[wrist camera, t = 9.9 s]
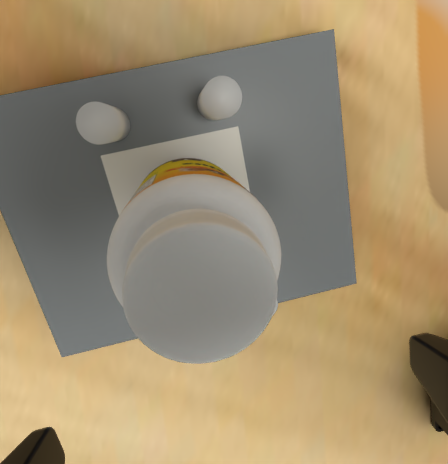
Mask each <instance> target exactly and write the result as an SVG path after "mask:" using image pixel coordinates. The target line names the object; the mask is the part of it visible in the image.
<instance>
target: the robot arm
mask: <svg viewBox="0 0 448 464" xmlns="http://www.w3.org/2000/svg"><path fill="white" fill-rule="evenodd" d="M409 347H410V365H411V368H412V370H413V372H414V374H415V376H416V377H417V378H418V380H419V381H420V383H421V384H422V386H423V387H424V389H425V390H426V392H427V393H428V395H429V396H430V398H431V416H432V426H433V427H434V428H435V429H436V431H438V432H441V431H445V433H446V434H447V435H448V340H447V339H444V338H441V337H438V336H435V335H432V334H429V333H422V334H418V335H414V336H412V337H411V338H410V340H409ZM0 464H65V454H64V450H63V448H62V446H61V443H60V441H59V439H58V437H57V434H56V432H55V430H54V429H53V428H52V427H46V428H42V429H38V430H35V431H33V432H32V433H31V434H29V435H28V436H27V437H26V438H25V439H24V440H23V441H22V442H21V443H20V444H19V445H18V446H17V447H16V448H15V449H14V450H13V451H12V452H11V453H10V454H9V455H8V456H7V457H6V458H5V459H4V460H3V461H2V462H1V463H0Z"/></svg>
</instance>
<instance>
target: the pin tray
mask: <svg viewBox="0 0 448 464" xmlns="http://www.w3.org/2000/svg"><path fill="white" fill-rule="evenodd" d="M180 158H196V159H201V160H205V161H208V162H210V163H213V164H215V165H216V166H218V167H220V168H221V169H223V170H224V171H225V172H226V173H228V174H229V175H230V176H231V177H232V178H234V179H235V180H236V181H237V182H239V183H240V184H241V185H242V186H243V187H244V188H245V189H247V190H248V191H249V192H250V193H251V194H253V195H254V196H255V197H256V198H257V200H258V201H259V202H260V203H261V204H262V205H263V207H264V208H265V209H266V211H267V212H268V214H269V215H270V217H271V219H272V221H273V223H274V224H275V227H276V230H277V232H278V236H279V240H280V246H281V266H280V272H279V276H278V280H277V285H278V292H277V300H276V306H275V309H274V312H273V315H274V313H275V312H276V310H277V307H278V303H280V302H284V301H288V300H292V299H296V298H300V297H304V296H308V295H312V294H316V293H320V292H324V291H328V290H332V289H336V288H340V287H344V286H348V285H352V284H356V272H355V261H354V249H353V238H352V227H351V216H350V205H349V193H348V182H347V171H346V160H345V149H344V137H343V126H342V115H341V104H340V93H339V81H338V70H337V59H336V48H335V37H334V29H333V30H328V31H323V32H318V33H313V34H308V35H303V36H297V37H292V38H287V39H282V40H277V41H272V42H267V43H262V44H257V45H252V46H247V47H242V48H237V49H232V50H227V51H222V52H217V53H212V54H207V55H202V56H197V57H192V58H187V59H182V60H177V61H172V62H167V63H162V64H156V65H151V66H146V67H141V68H136V69H131V70H126V71H121V72H116V73H111V74H106V75H101V76H96V77H91V78H86V79H81V80H76V81H71V82H66V83H61V84H56V85H51V86H46V87H41V88H36V89H31V90H26V91H21V92H15V93H10V94H5V95H0V210H1V213H2V215H3V217H4V220H5V222H6V225H7V227H8V229H9V232H10V234H11V237H12V239H13V241H14V244H15V246H16V248H17V251H18V253H19V256H20V258H21V260H22V263H23V265H24V268H25V270H26V272H27V275H28V277H29V280H30V282H31V284H32V287H33V289H34V292H35V294H36V296H37V299H38V301H39V304H40V306H41V308H42V311H43V313H44V316H45V318H46V320H47V323H48V325H49V328H50V330H51V332H52V335H53V337H54V340H55V342H56V344H57V347H58V349H59V352H60V354H61V356H62V357H65V356H69V355H73V354H77V353H81V352H85V351H89V350H93V349H97V348H101V347H105V346H109V345H113V344H117V343H121V342H125V341H129V340H133V339H137V338H138V337H137V336H136V335H135V334H134V332H133V331H132V329H131V327H130V326H129V324H128V321H127V319H126V316H125V313H124V309H123V307H122V305H121V304H120V303H119V301H118V299H117V298H116V296H115V293H114V291H113V289H112V286H111V283H110V280H109V276H108V270H107V249H108V243H109V239H110V235H111V233H112V230H113V227H114V225H115V223H116V221H117V219H118V217H119V216H120V214H121V212H122V211H123V209H124V208H125V207H126V205H127V204H128V202H129V201H130V199H131V198H132V196H133V195H134V193H135V192H136V191H137V189H138V188H139V186H140V185H141V183H142V182H143V181H144V179H145V178H146V177H147V176H148V175H149V173H151V172H152V171H153V170H154V169H156V168H157V167H159V166H160V165H162V164H164V163H166V162H168V161H171V160H175V159H180ZM273 315H272V316H273Z"/></svg>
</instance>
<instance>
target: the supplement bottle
mask: <svg viewBox="0 0 448 464" xmlns="http://www.w3.org/2000/svg"><path fill="white" fill-rule="evenodd" d="M280 266H281V246H280V240H279V236H278V232H277V230H276V227H275V224H274V223H273V221H272V219H271V217H270V215H269V214H268V212H267V211H266V209H265V208H264V207H263V205H262V204H261V203H260V202H259V201H258V200H257V198H256V197H255V196H254V195H253V194H251V193H250V192H249V191H248V190H247V189H245V188H244V187H243V186H242V185H241V184H240V183H239V182H237V181H236V180H235V179H234V178H232V177H231V176H230V175H229V174H228V173H226V172H225V171H224V170H223V169H221V168H220V167H218V166H216V165H215V164H213V163H210V162H208V161H205V160H201V159H196V158H180V159H175V160H171V161H168V162H166V163H164V164H162V165H160V166H159V167H157V168H156V169H154V170H153V171H152V172H151V173H149V175H148V176H147V177H146V178H145V179H144V181H143V182H142V183H141V185H140V186H139V188H138V189H137V191H136V192H135V193H134V195H133V196H132V198H131V199H130V201H129V202H128V204H127V205H126V207H125V208H124V209H123V211H122V212H121V214H120V216H119V217H118V219H117V221H116V223H115V225H114V227H113V230H112V233H111V235H110V239H109V243H108V249H107V270H108V276H109V280H110V283H111V286H112V289H113V291H114V293H115V296H116V298H117V299H118V301H119V303H120V304H121V305H122V307H123V309H124V313H125V316H126V319H127V321H128V324H129V326H130V327H131V329H132V331H133V332H134V334H135V335H136V336H137V337H138V338H139V339H140V341H141V342H142V343H143V344H144V345H146V346H147V347H148V348H150V349H151V350H152V351H154V352H156V353H157V354H159V355H161V356H163V357H165V358H168V359H171V360H174V361H178V362H183V363H198V364H200V363H209V362H215V361H219V360H222V359H225V358H228V357H231V356H233V355H235V354H237V353H239V352H240V351H242V350H244V349H245V348H247V347H248V346H249V345H250V344H251V343H253V342H254V341H255V340H256V339H257V338H258V337H259V336H260V334H261V333H262V332H263V331H264V329H265V328H266V326H267V325H268V323H269V321H270V320H271V317H272V315H273V312H274V309H275V306H276V300H277V292H278V285H277V280H278V276H279V272H280Z"/></svg>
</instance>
